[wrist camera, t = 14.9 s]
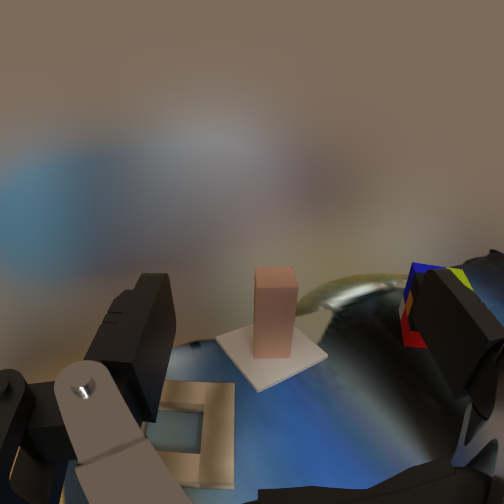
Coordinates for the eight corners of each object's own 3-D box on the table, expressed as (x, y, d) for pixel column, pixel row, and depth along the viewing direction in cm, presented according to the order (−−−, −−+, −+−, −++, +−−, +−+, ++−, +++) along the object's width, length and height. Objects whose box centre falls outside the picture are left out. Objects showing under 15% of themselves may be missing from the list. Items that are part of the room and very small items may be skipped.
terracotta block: (286, 335, 48) (292, 266, 43) (290, 358, 44) (298, 287, 38) (253, 335, 48) (254, 266, 43) (254, 358, 44) (256, 287, 38)
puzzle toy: (398, 310, 54) (412, 262, 50) (445, 315, 52) (462, 269, 48) (403, 346, 46) (422, 294, 41) (456, 351, 44) (479, 301, 39)
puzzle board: (234, 392, 39) (234, 382, 38) (234, 489, 26) (233, 483, 25) (130, 386, 38) (127, 377, 38) (106, 475, 26) (100, 468, 25)
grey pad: (280, 315, 54) (280, 312, 53) (327, 357, 44) (328, 354, 44) (215, 339, 48) (215, 337, 48) (257, 393, 39) (257, 390, 39)
